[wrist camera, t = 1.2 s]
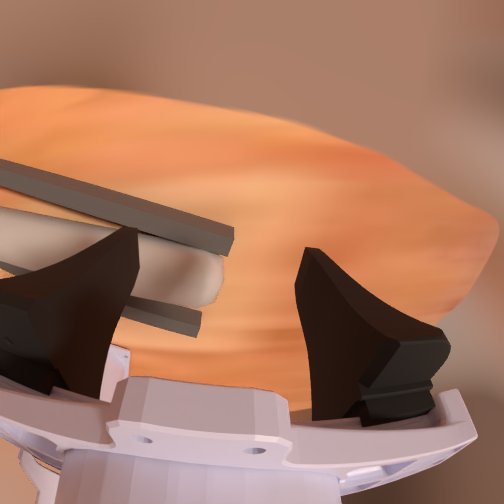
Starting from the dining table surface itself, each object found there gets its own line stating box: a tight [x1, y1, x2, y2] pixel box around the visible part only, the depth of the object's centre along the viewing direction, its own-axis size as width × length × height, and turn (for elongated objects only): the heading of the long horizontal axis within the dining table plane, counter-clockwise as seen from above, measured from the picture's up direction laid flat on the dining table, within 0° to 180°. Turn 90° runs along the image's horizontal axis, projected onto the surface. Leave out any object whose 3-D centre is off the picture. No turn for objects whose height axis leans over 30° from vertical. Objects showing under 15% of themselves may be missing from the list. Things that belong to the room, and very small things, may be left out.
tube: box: [0, 206, 224, 308], centre depth 20 cm, size 5×5×25 cm
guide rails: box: [0, 159, 234, 338], centre depth 21 cm, size 10×24×2 cm, turn 69°
